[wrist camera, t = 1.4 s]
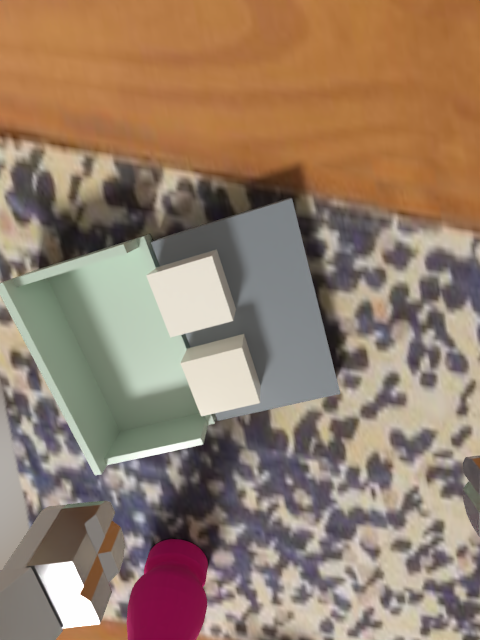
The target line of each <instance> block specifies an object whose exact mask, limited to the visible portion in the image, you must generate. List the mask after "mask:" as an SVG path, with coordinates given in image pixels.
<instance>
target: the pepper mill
mask: <svg viewBox="0 0 480 640" xmlns="http://www.w3.org/2000/svg"><path fill="white" fill-rule="evenodd" d="M207 568H208V562H207V558H206V555H205V554H204V553H203V551H202V550H201V549H200V548H199V547H198V546H196V545H195V544H193V543H191V542H188V541H185V540H181V539H168V540H164V541H161V542H159V543H157V544H156V545H155V546H154V547H153V548H152V549H151V550H150V552H149V555H148V558H147V561H146V565H145V568H144V575H143V576H142V577H141V578H140V579H139V580H138V581H137V582H136V583H135V585H134V587H133V589H132V592H131V595H130V600H129V604H128V613H127V632H128V640H196V639H197V637H198V635H199V632H200V630H201V627H202V625H203V623H204V618H205V614H206V609H207V598H206V594H205V591H204V589H203V586H204V584H205V581H206V575H207Z"/></svg>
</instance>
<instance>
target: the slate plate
mask: <svg viewBox="0 0 480 640" xmlns="http://www.w3.org/2000/svg"><path fill="white" fill-rule="evenodd" d="M151 244H152V247H153V249H154V252H155V255H156V257H157V260H158V263H159V265H160V266H163V265H166V264H170V263H173V262H176V261H180V260H183V259H186V258H190V257H193V256H196V255H200V254H203V253H206V252H210V251H213V250H216V249H217V252H218V255H219V258H220V261H221V264H222V267H223V270H224V273H225V276H226V280H227V283H228V286H229V289H230V292H231V295H232V298H233V301H234V304H235V308H236V311H235V315H234V320H233V321H231V322H227V323H224V324H220V325H216V326H212V327H208V328H205V329H201V330H197V331H193V332H190V333H186V334H185V335H186V337H187V340H188V343H189V345H190V348H191V347H195V346H199V345H203V344H207V343H210V342H214V341H218V340H222V339H226V338H230V337H234V336H238V335H241V334H244V336H245V339H246V342H247V345H248V348H249V351H250V354H251V357H252V360H253V364H254V367H255V370H256V373H257V376H258V379H259V382H260V385H261V388H260V403H258V404H254V405H250V406H245V407H241V408H236V409H232V410H228V411H223V412H219V413H215V415H216V417H217V420H218V421H220V420H224V419H229V418H233V417H238V416H242V415H247V414H251V413H256V412H260V411H265V410H269V409H274V408H278V407H283V406H287V405H291V404H296V403H300V402H305V401H309V400H314V399H318V398H323V397H327V396H332V395H336V394H340V391H339V387H338V383H337V378H336V374H335V370H334V366H333V362H332V358H331V354H330V350H329V346H328V342H327V338H326V334H325V330H324V326H323V322H322V318H321V314H320V310H319V306H318V302H317V298H316V294H315V289H314V285H313V281H312V277H311V273H310V269H309V265H308V261H307V257H306V253H305V249H304V245H303V241H302V237H301V233H300V229H299V225H298V221H297V217H296V213H295V209H294V205H293V200H292V198H287V199H283V200H280V201H277V202H274V203H271V204H267V205H264V206H261V207H258V208H255V209H251V210H248V211H245V212H242V213H239V214H235V215H232V216H229V217H226V218H223V219H219V220H216V221H213V222H210V223H207V224H203V225H200V226H197V227H194V228H191V229H187V230H184V231H181V232H178V233H174V234H171V235H168V236H165V237H162V238H159V239H157V240H155V241H153V242H151Z"/></svg>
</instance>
